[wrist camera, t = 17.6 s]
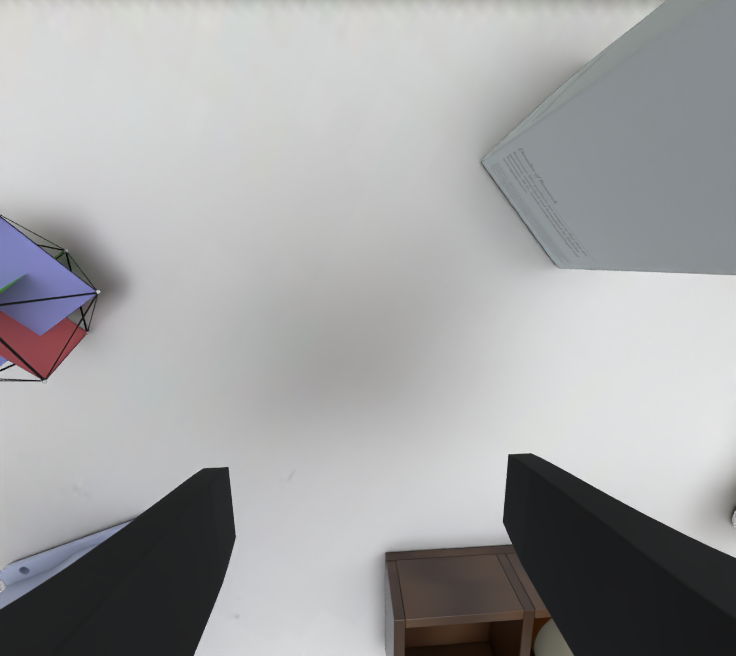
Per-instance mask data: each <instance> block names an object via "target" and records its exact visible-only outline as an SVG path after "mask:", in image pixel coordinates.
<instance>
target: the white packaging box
mask: <svg viewBox="0 0 736 656" xmlns="http://www.w3.org/2000/svg"><path fill="white" fill-rule="evenodd" d="M482 164H483V165H484V166H485V168H486V169H487V171H488V172H489V174H490V175H491V176H492V178H493V179H494V181H495V182H496V183H497V185H498V186H499V188H500V189H501V190H502V191H503V193H504V194H505V196H506V197H507V198H508V200H509V201H510V203H511V204H512V206H513V207H514V208H515V210H516V211H517V212H518V214H519V215H520V217H521V218H522V219H523V221H524V222H525V224H526V225H527V226H528V228H529V229H530V230H531V232H532V233H533V234H534V236H535V237H536V239H537V240H538V241H539V243H540V244H541V245H542V247H543V248H544V249H545V251H546V253H547V254H548V255H549V256H550V258H551V259H552V260H553V261H554V263H555V264H556V265H557V266H558V267H559V268H561V269H585V270H613V271H639V272H666V273H693V274H717V275H736V0H666V1H665V2H664V3H663V4H661V5H660V6H659V7H658V8H656V9H655V10H654V11H653V12H652V13H650V14H649V15H648V16H647V17H645V18H644V19H643V20H642V21H640V22H639V23H638V24H636V25H635V26H634V27H633V28H631V29H630V30H629V31H627V32H626V33H625V34H624V35H622V36H621V37H620V38H619V39H617V40H616V41H615V42H613V43H612V44H611V45H610V46H608V47H607V48H606V49H605V50H603V51H602V52H601V53H599V54H598V55H597V56H596V57H595V58H593V59H592V60H591V61H590V62H588V63H587V64H586V65H585V66H584V67H583V68H581V69H580V70H579V71H578V72H577V73H576V74H574V75H573V76H572V77H571V78H570V79H569V80H568V81H566V82H565V83H564V84H563V85H562V86H561V87H560V88H558V89H557V90H556V91H555V92H554V93H553V94H552V95H550V96H549V97H548V98H547V99H546V100H545V101H544V102H543V103H542V104H540V105H539V106H538V107H537V108H536V109H535V110H534V111H533V112H532V113H531V114H530V115H529V116H528V117H527V118H525V119H524V120H523V121H522V122H521V123H520V124H519V125H518V126H517V127H516V128H515V129H514V130H513V131H512V132H510V133H509V134H508V135H507V136H506V137H505V138H504V139H503V140H502V141H501V142H500V143H499V144H498V145H497V146H496V147H495V148H493V149H492V150H491V151H490V152H489V153H488V154H487V155H486V156H485V157H484V158H483V159H482Z"/></svg>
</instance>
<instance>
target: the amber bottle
mask: <svg viewBox="0 0 736 656" xmlns="http://www.w3.org/2000/svg"><path fill="white" fill-rule="evenodd" d="M531 648H532V650H533V652H534V654H535V656H574V655H573V653H572V652H571V650H570V648H569V647H568V645H567V643H566V641H565V640H564V638H563V636H562V634H561V633H560V631H559V629H558V628H557V626H556V624H555V622H554V621H553V619H552V617H544V618H534V622H533V631H532V640H531Z"/></svg>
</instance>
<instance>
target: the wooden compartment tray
mask: <svg viewBox="0 0 736 656" xmlns="http://www.w3.org/2000/svg"><path fill="white" fill-rule="evenodd" d="M544 617H551V615H550V614H549V612H548V610H547V609H546V607H545V605H544V603H543V602H542V600H541V598H540V596H539V595H538V593H537V591H536V589H535V588H534V586H533V584H532V582H531V581H530V579H529V577H528V575H527V573H526V572H525V570H524V568H523V566H522V564H521V563H520V560H519V558H518V556H517V554H516V551H515V549H514V547H513V545H508V546H492V547H476V548H459V549H443V550H427V551H411V552H395V553H386V554H385V650H386V656H535V654H534V652H533V650H532V648H531V640H532V631H533V622H534V618H544Z"/></svg>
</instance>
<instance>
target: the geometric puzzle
mask: <svg viewBox="0 0 736 656" xmlns="http://www.w3.org/2000/svg"><path fill="white" fill-rule="evenodd" d="M1 216H2V215H1ZM1 216H0V366H1V365H2V364H4V363H5V362H6V361H8V360H9V361H10V362H12V363H14V364H12V365H10V366H8V367H5V368H3V369H1V370H0V371H3V370H5V369H7V368H9V367H12V366H14V365H17V366H19V367H21V368H23V369H24V370H26V371H28V372H30V373H31V374H33V375H35V376H36V377H38V378H40V379H41V380H23V381H42V383H47V379H48V377H49V376H50V375H51V374H52V373H53V372H54V371H55V369H56V368H57V367H58V366H59V365H60V364H61V363H62V361H63V360H64V359H65V358H66V357H67V356H68V355H69V353H70V352H71V351H72V350H73V349H74V348H75V347H76V345H77V344H78V343H79V342H80V341H81V340H82V339H83V337H84V336H85V335H86V334H89V332H88V330H89V327H88V330H87V327H86V323H85V319H84V316H85V315H86V313H87V311H88V310H89V308H90V306H91V305H92V303H93V301H94V300H95V298H96V300H97V297H98V294H99V293H100V291H99V290H96V289H94V288H95V287H94V286H93V285H92V286H93V287H94V288H92V287H91V286H90V285H88V284H87V283H86V282H85V281H83V280H82V279H81V278H79V277H78V276H77V275H76V274H74V273H73V272H72V270H71V266H70V262H69V258H68V254H69V253H68V250H67V249H64V250H63V248H62V249H58V248H53V247H48V246H43V245H38V244H36V243H34V242H33V241H32V240H31V239H29V238H28V237H27V236H25V235H24V234H23V233H22V232H20V231H19V230H18V229H16V228H15V227H14V226H13V225H11V224H10V223H9V222H7V221H6V220H5V219H4V218H5V217H4V216H2V217H4V218H2V217H1ZM6 219H7V218H6ZM8 220H9V219H8ZM10 221H11V220H10ZM12 222H13V221H12ZM14 223H15V222H14ZM15 224H17V223H15ZM17 225H18V224H17ZM19 226H20V225H19ZM21 227H22V226H21ZM23 228H24V227H23ZM25 229H26V228H25ZM26 230H28V229H26ZM28 231H29V230H28ZM30 232H31V231H30ZM32 233H33V232H32ZM34 234H35V233H34ZM36 235H37V234H36ZM38 236H39V235H38ZM39 237H41V236H39ZM41 238H42V237H41ZM43 239H44V238H43ZM45 240H46V239H45ZM47 241H48V240H47ZM49 242H50V241H49ZM51 243H52V242H51ZM52 244H53V243H52ZM54 245H55V244H54ZM40 246H42V247H47V248H52V249H57V250H63V252H61V253H60V254H59V255H57V256H56V257H52V256H51V255H50V254H49V253H47V252H46V251H45V250H43V249H42V248H41V247H40ZM56 246H57V245H56ZM58 247H59V246H58ZM60 248H61V247H60ZM64 253H66V257H67V261H68V265H69V268H70V270H69V269H68V268H67V267H65V266H64V265H63V264H61V263H60V262H59V261H58V260H56V259H58V258H59V257H60V256H62V255H63V254H64ZM67 253H68V254H67ZM69 256H70V255H69ZM70 257H71V256H70ZM71 258H72V257H71ZM72 260H73V259H72ZM73 261H74V260H73ZM74 262H75V261H74ZM75 264H76V263H75ZM76 265H77V264H76ZM77 266H78V265H77ZM78 267H79V266H78ZM79 269H80V268H79ZM80 270H81V269H80ZM81 271H82V270H81ZM82 273H83V272H82ZM83 274H84V273H83ZM84 275H85V274H84ZM85 277H86V276H85ZM86 278H87V277H86ZM87 279H88V278H87ZM88 280H89V279H88ZM89 282H90V281H89ZM90 283H91V282H90ZM91 284H92V283H91ZM93 296H95V297H94V299H93V300H92V302H91V304H90V305H89V307H88V309H87V310H86V312H85V314H84V315H83V311H82V308H81V305H83V304H84V303H85V302H87V301H88V300H89V299H91V298H92V297H93ZM95 304H96V301H95ZM79 307H80V310H81V314H82V319H81V320H80V322H79V324H78V325H76V324H75V323H73V322H72V321H70V320H69V319H67V318H66V317H67V316H68V315H69V314H71V313H72V312H73V311H75V310H76V309H77V308H79ZM94 308H95V305H94ZM93 311H94V309H93ZM92 315H93V312H92ZM91 319H92V316H91ZM82 320H83V321H84V325H85V329H86V331H85V330H83V329H82V328H80V327H79V325H80V323H81V321H82ZM90 322H91V320H90ZM89 326H90V324H89ZM19 380H20V379H2V380H0V381H19Z"/></svg>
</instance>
